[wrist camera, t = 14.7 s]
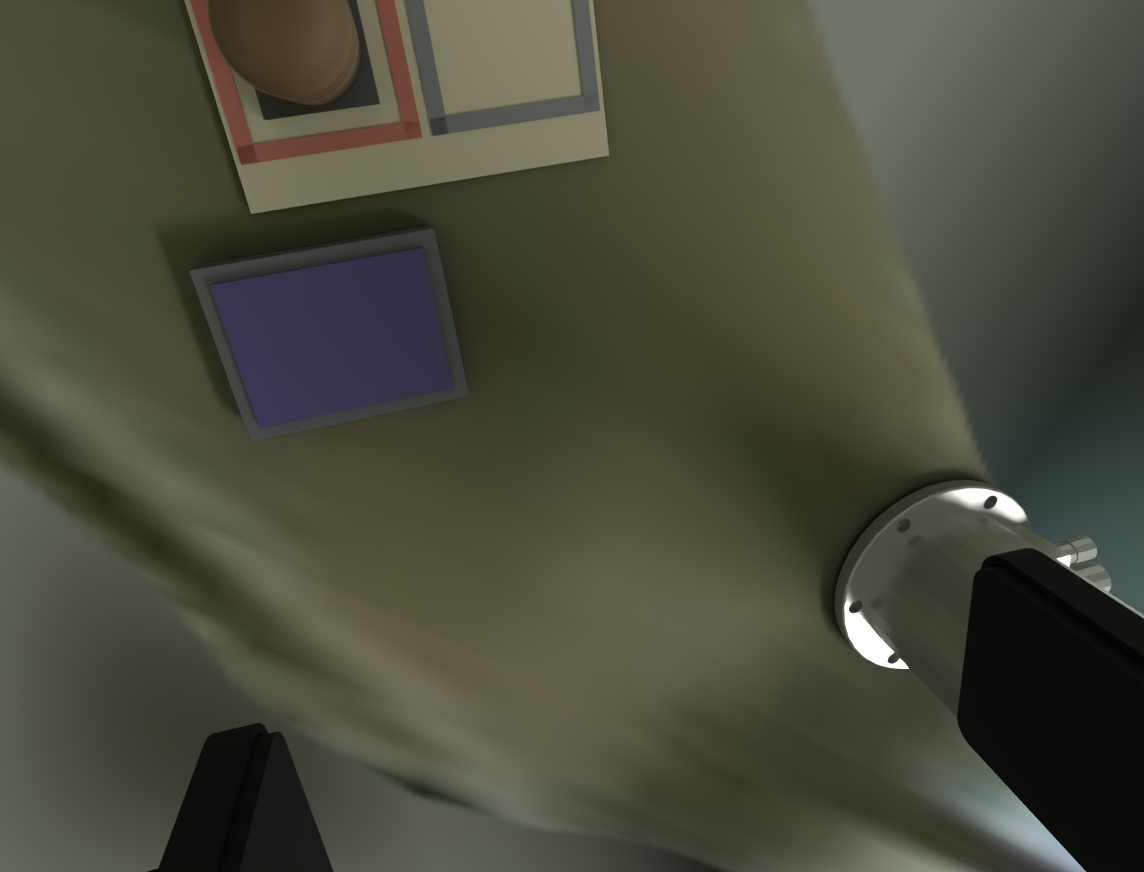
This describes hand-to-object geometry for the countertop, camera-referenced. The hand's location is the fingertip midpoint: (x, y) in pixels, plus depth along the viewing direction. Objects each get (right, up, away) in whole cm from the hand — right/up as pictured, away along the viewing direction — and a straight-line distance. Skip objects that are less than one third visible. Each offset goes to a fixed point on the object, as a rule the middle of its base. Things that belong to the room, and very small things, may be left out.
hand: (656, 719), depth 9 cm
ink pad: (-11, +8, +20) cm, 24 cm away
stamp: (-10, +17, +16) cm, 26 cm away
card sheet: (-7, +18, +16) cm, 25 cm away
